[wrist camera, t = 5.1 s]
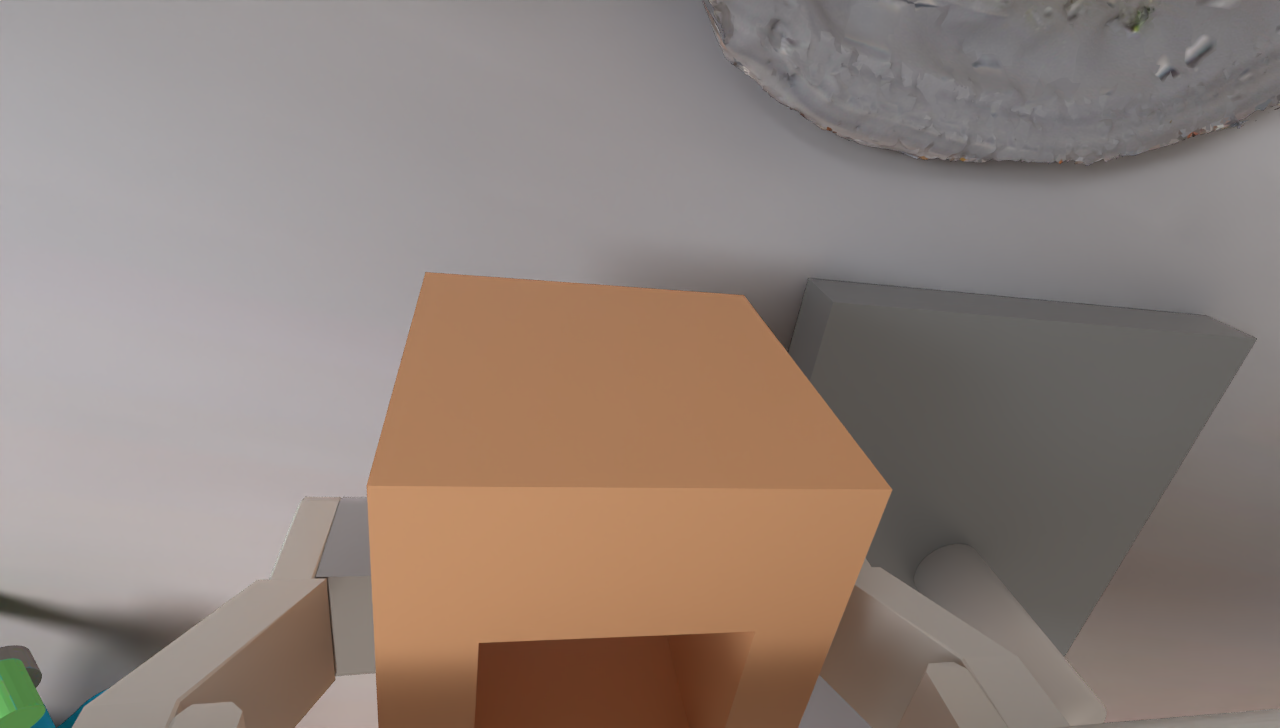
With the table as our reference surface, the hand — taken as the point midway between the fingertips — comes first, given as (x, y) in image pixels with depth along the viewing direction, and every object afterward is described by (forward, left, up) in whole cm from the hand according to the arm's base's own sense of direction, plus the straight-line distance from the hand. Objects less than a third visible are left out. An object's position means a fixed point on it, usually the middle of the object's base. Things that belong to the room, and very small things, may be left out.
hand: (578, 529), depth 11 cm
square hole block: (0, 0, -2) cm, 2 cm away
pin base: (+6, +12, -6) cm, 15 cm away
